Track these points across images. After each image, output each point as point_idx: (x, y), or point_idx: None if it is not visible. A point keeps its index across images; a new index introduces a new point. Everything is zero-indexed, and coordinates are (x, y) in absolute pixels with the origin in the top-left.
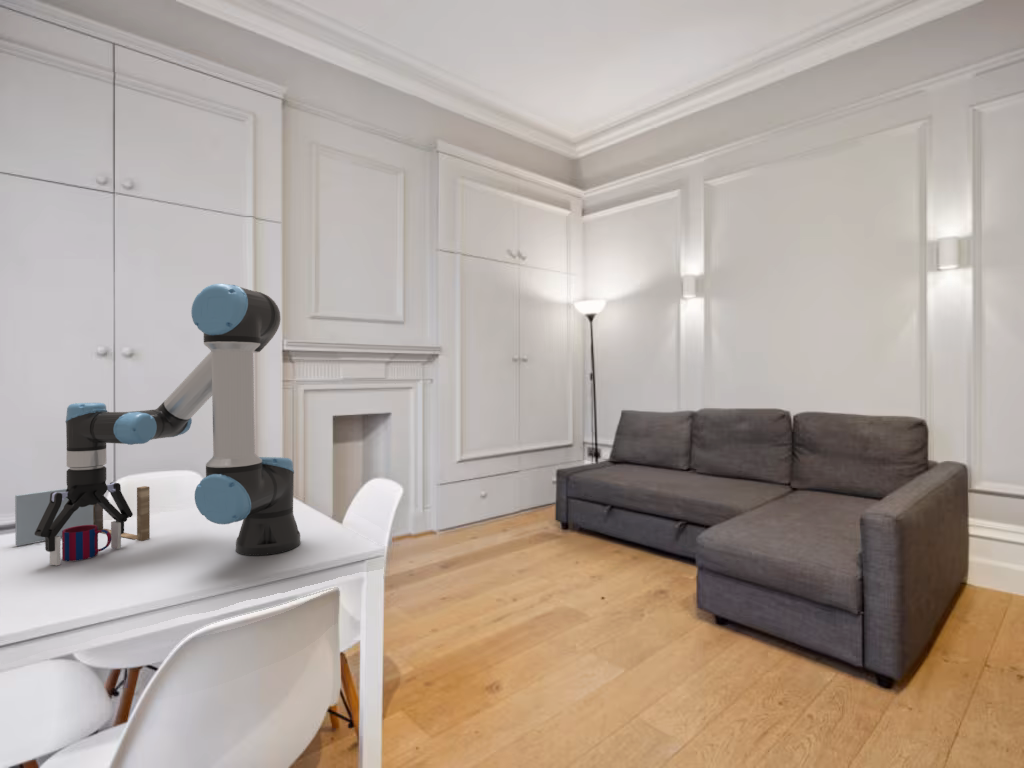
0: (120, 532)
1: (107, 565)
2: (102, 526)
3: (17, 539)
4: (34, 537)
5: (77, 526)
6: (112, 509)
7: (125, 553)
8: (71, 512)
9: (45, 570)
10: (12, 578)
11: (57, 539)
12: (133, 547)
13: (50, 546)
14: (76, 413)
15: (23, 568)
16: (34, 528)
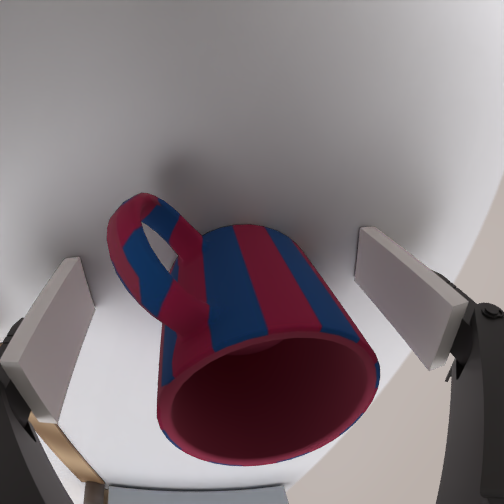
0: (31, 311)
1: (249, 4)
2: (86, 488)
3: (286, 499)
4: (249, 500)
5: (248, 461)
6: (14, 491)
7: (79, 144)
8: (498, 473)
9: (411, 212)
10: (477, 221)
11: (455, 293)
12: (20, 227)
13: (448, 283)
14: None
15: None
16: None
